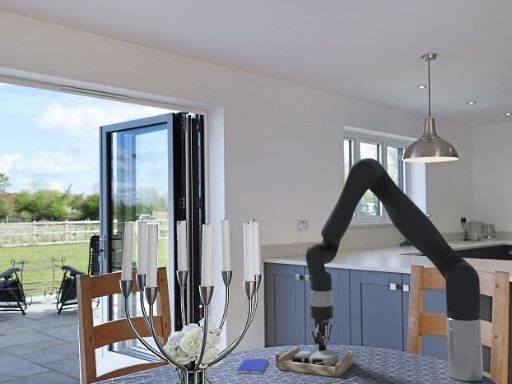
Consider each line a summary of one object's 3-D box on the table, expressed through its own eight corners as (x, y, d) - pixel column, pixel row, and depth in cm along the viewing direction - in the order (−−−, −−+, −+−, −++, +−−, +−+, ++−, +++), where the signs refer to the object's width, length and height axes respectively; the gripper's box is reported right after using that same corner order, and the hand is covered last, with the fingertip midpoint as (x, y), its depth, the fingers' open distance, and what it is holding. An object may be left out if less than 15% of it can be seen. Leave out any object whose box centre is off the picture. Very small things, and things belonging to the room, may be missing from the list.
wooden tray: (354, 362, 173) (353, 352, 173) (338, 376, 160) (338, 365, 160) (291, 355, 184) (291, 345, 184) (272, 368, 170) (271, 357, 170)
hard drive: (244, 358, 178) (236, 369, 166) (268, 359, 177) (261, 370, 165) (244, 363, 178) (236, 374, 166) (268, 363, 177) (262, 375, 165)
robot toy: (285, 371, 169) (330, 374, 162) (284, 357, 169) (328, 358, 162) (301, 361, 180) (344, 363, 172) (300, 347, 180) (342, 348, 173)
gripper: (325, 308, 170) (326, 362, 170) (338, 300, 182) (340, 351, 182) (303, 306, 174) (304, 359, 173) (318, 299, 185) (319, 349, 185)
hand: (322, 355), depth 178 cm, fingers closed
